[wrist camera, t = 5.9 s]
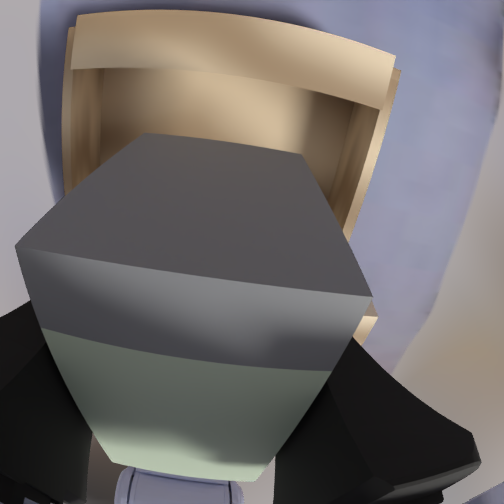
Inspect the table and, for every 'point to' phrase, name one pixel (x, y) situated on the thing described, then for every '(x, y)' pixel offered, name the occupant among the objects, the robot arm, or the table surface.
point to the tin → (194, 301)
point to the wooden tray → (227, 93)
